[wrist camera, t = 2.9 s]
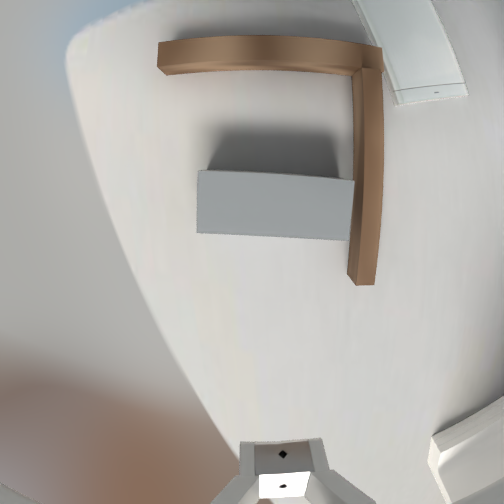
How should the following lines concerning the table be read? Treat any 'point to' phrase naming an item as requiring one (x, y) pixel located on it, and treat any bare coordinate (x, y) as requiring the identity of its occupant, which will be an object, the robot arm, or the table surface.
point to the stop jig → (321, 61)
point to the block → (469, 453)
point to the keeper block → (274, 204)
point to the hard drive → (412, 50)
